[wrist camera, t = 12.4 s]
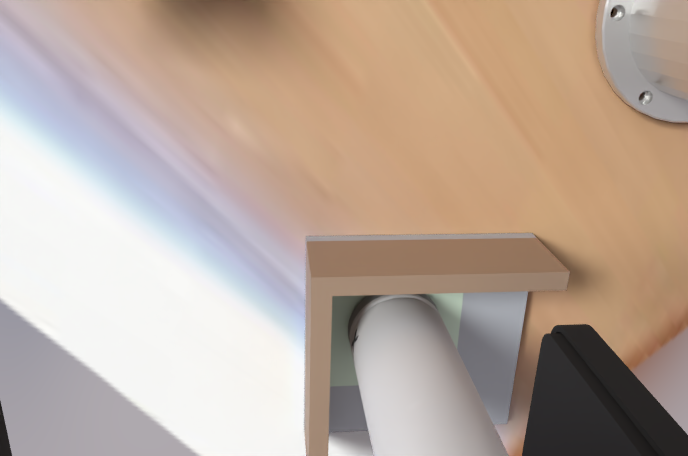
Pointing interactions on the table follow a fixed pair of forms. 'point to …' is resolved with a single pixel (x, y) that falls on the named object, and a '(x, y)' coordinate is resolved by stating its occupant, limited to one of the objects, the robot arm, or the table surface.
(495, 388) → the box
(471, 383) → the travel mug
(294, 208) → the table surface
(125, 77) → the table surface
